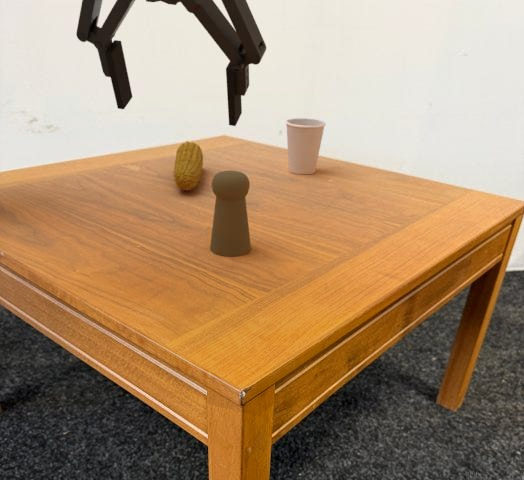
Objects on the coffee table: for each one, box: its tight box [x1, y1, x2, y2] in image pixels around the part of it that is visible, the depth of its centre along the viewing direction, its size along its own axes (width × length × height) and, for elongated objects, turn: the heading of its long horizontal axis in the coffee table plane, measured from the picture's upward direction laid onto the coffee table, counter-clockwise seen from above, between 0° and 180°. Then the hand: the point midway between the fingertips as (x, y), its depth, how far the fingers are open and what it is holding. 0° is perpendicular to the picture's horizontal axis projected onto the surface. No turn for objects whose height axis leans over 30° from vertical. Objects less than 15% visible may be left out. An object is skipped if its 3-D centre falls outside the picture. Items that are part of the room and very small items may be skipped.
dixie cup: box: [284, 117, 327, 175], centre depth 116 cm, size 8×8×10 cm
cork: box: [209, 170, 252, 257], centre depth 78 cm, size 6×6×11 cm
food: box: [173, 140, 204, 191], centre depth 108 cm, size 21×6×6 cm, turn 5°
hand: (179, 111), depth 64 cm, fingers open, 13 cm apart
